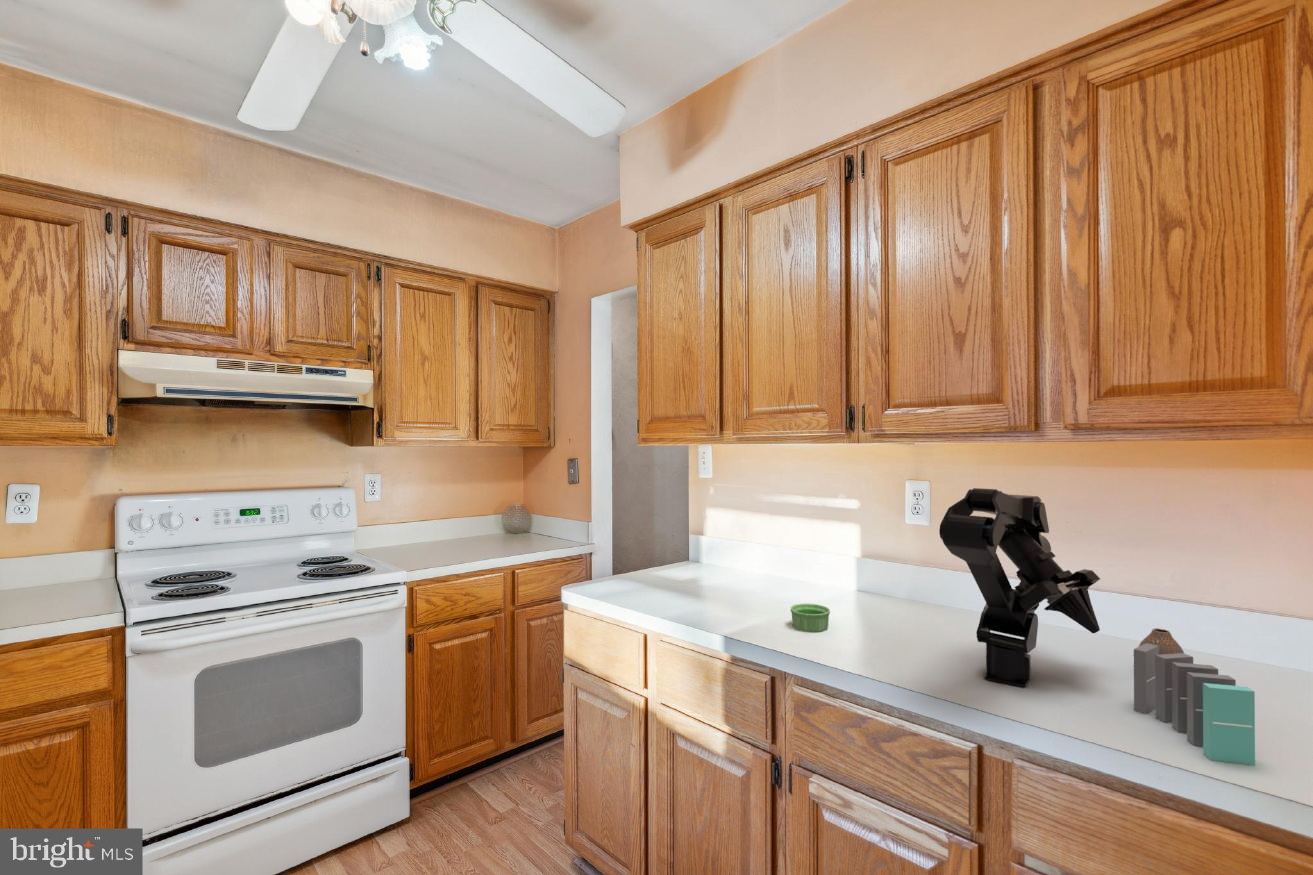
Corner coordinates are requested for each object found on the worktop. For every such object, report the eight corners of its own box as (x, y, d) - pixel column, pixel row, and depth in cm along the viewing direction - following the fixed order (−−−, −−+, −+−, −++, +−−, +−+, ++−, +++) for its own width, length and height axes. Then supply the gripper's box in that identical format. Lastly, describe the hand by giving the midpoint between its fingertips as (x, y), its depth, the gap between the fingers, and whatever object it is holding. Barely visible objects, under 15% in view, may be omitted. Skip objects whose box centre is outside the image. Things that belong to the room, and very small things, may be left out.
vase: (1163, 670, 114) (1163, 623, 114) (1197, 685, 107) (1196, 636, 107) (1127, 671, 114) (1127, 624, 114) (1159, 686, 107) (1159, 637, 107)
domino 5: (1203, 754, 85) (1202, 682, 85) (1247, 758, 83) (1246, 686, 83) (1210, 760, 83) (1209, 687, 83) (1255, 765, 82) (1254, 691, 82)
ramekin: (782, 625, 144) (782, 606, 144) (811, 619, 148) (811, 601, 148) (808, 636, 136) (808, 616, 136) (838, 629, 140) (838, 610, 140)
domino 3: (1172, 727, 92) (1171, 662, 92) (1212, 731, 91) (1211, 665, 91) (1178, 732, 91) (1177, 666, 91) (1218, 736, 89) (1218, 669, 89)
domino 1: (1134, 710, 98) (1133, 648, 98) (1146, 702, 101) (1146, 643, 101) (1146, 714, 97) (1145, 651, 97) (1158, 706, 99) (1158, 645, 99)
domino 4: (1187, 740, 89) (1186, 672, 88) (1228, 744, 87) (1228, 675, 87) (1193, 745, 87) (1193, 676, 87) (1236, 750, 86) (1235, 679, 86)
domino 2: (1155, 717, 95) (1155, 654, 95) (1183, 715, 96) (1183, 653, 96) (1165, 722, 94) (1164, 658, 94) (1193, 720, 94) (1193, 656, 94)
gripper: (1025, 574, 124) (1086, 644, 115) (972, 588, 114) (1034, 665, 105) (1066, 542, 117) (1135, 613, 108) (1014, 554, 107) (1084, 633, 98)
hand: (1096, 631), depth 105 cm, fingers closed
